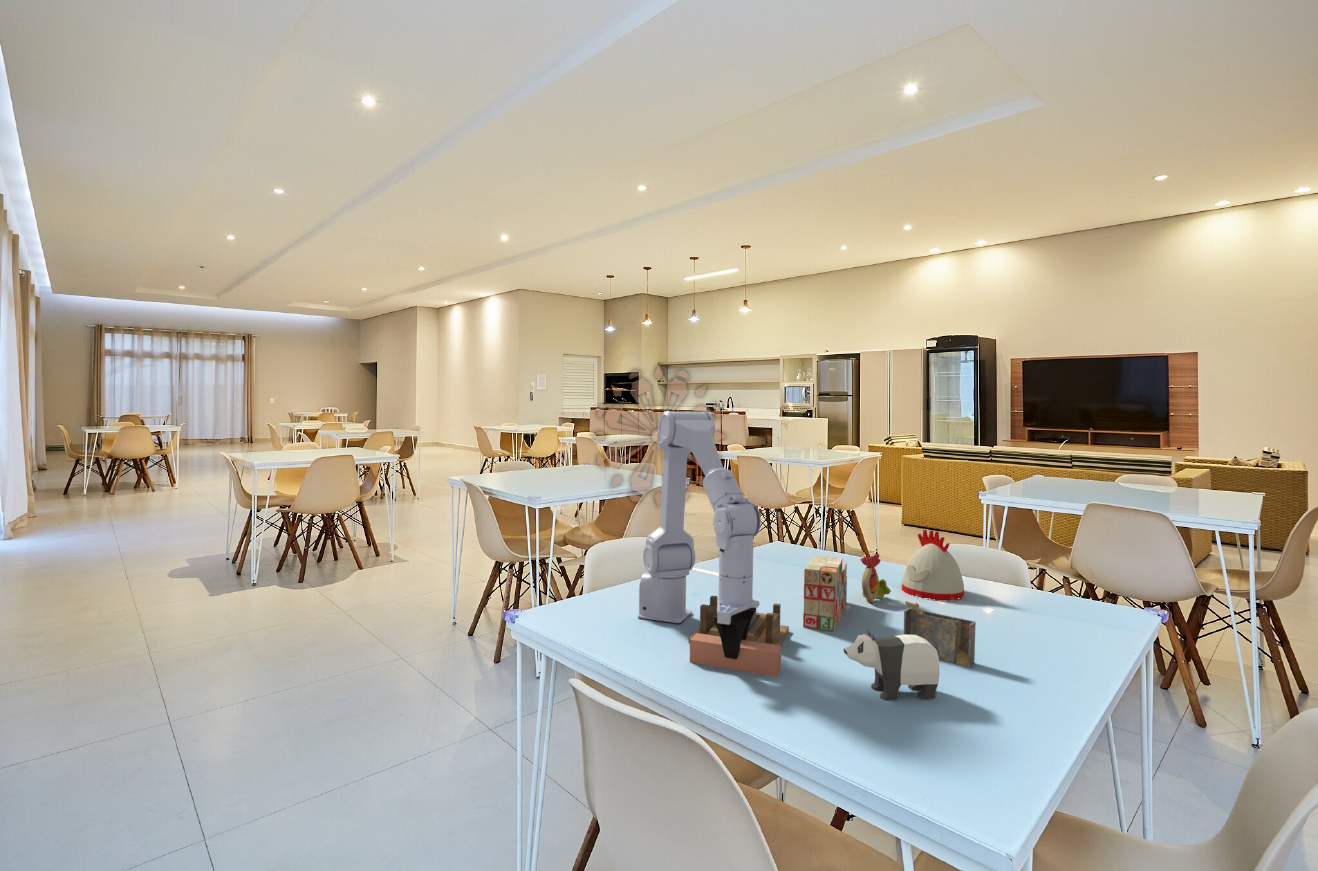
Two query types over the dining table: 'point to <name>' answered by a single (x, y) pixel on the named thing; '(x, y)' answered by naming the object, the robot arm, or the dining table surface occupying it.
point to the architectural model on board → (943, 634)
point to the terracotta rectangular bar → (749, 658)
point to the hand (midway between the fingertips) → (734, 653)
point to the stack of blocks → (824, 592)
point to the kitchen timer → (933, 571)
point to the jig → (761, 631)
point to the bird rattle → (873, 580)
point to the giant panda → (898, 663)
